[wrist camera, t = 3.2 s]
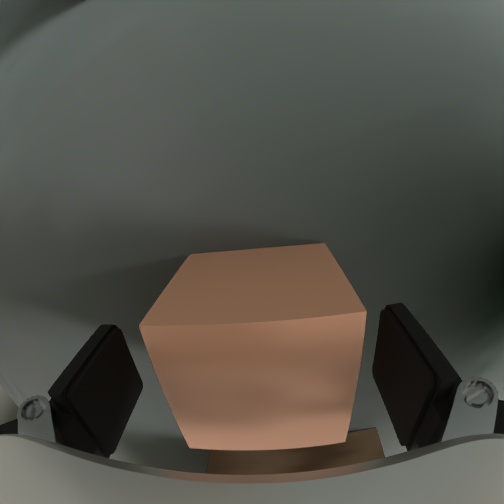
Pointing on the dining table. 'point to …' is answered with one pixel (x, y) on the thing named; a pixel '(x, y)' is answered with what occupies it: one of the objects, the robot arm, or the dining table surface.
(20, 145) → the dining table surface
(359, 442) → the walnut slab
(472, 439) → the robot arm
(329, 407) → the terracotta cube
